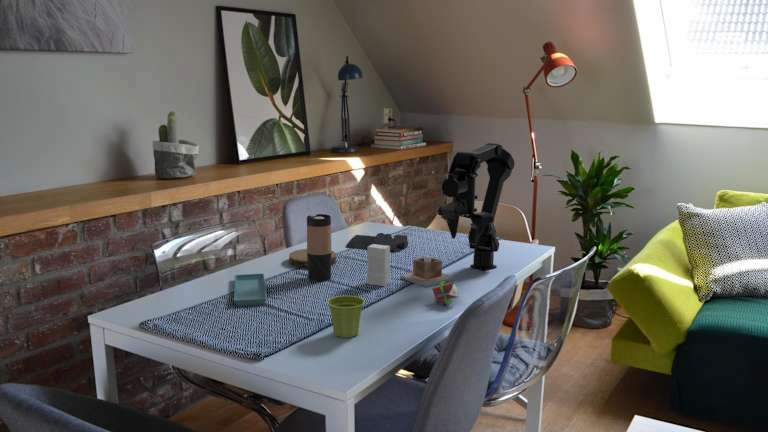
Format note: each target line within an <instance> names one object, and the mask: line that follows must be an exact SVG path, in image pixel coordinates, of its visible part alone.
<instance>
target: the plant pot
mask: <svg viewBox="0 0 768 432" xmlns="http://www.w3.org/2000/svg"><path fill="white" fill-rule="evenodd" d="M365 303H366V300H365V299H364V298H362V297H359V296H354V295H337V296H333V297H331V298H328V299H327V301H326V304H327V305H328V308H329V310H330V311H329V312H330V315H331V322H332V328H333V335H334V336H335V337H336V336H338V337H340V338H343V339H349V338H353V337H355V336H358V335H359V328H360V322H361V316H362V310H363V307H364V305H365Z"/></svg>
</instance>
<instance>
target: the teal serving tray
mask: <svg viewBox="0 0 768 432" xmlns="http://www.w3.org/2000/svg"><path fill="white" fill-rule="evenodd" d="M233 288H234V290H233V303H235V304H236V306H237V307H244V306H245V307H246V306H247V307H248V306H261V305H262V306H263V305H265V303H266V301H267V300H268V299H267V298H268V297H267V289H266V282H265V273H250V274H249V273H248V274H236V275H234V287H233Z"/></svg>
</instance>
